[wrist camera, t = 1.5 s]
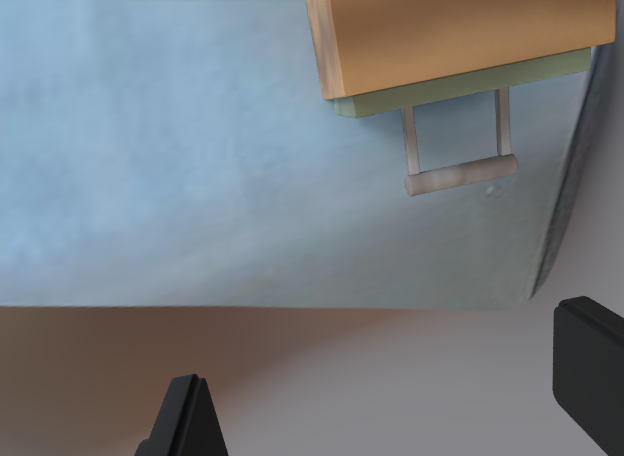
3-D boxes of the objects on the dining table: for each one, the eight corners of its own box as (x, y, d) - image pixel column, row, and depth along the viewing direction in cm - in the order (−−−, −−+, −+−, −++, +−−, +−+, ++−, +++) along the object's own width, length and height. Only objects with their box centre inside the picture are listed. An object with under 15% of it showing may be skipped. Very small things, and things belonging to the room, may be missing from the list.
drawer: (520, 156, 30) (588, 170, 24) (349, 193, 30) (370, 217, 23) (510, -194, 23) (600, -309, 17) (290, -154, 23) (298, -257, 17)
